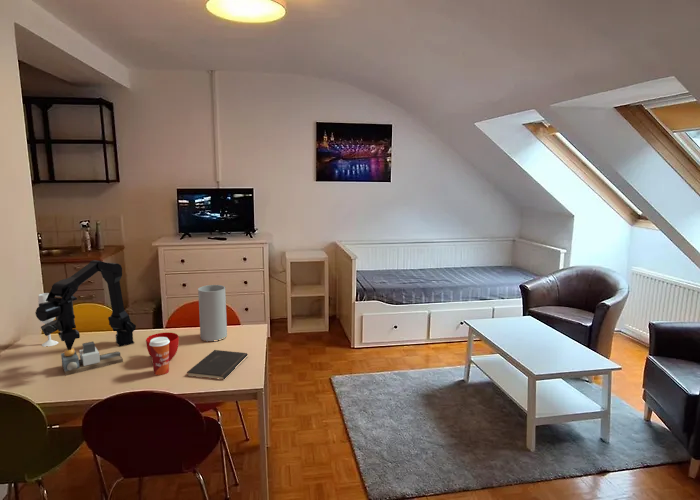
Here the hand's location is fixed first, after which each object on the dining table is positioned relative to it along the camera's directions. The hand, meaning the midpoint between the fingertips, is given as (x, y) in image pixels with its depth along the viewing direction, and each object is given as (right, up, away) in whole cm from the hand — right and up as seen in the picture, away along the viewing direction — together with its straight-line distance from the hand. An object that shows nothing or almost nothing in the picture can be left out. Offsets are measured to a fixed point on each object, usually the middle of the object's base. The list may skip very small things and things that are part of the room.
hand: (69, 349), depth 185 cm
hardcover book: (+59, -9, +7) cm, 60 cm away
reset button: (0, -2, 0) cm, 2 cm away
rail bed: (+6, -8, +6) cm, 12 cm away
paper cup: (+38, -9, 0) cm, 39 cm away
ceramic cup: (+32, -7, +13) cm, 35 cm away
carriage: (+5, -6, +6) cm, 10 cm away
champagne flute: (-26, -3, +28) cm, 38 cm away
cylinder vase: (+48, -2, +38) cm, 61 cm away
